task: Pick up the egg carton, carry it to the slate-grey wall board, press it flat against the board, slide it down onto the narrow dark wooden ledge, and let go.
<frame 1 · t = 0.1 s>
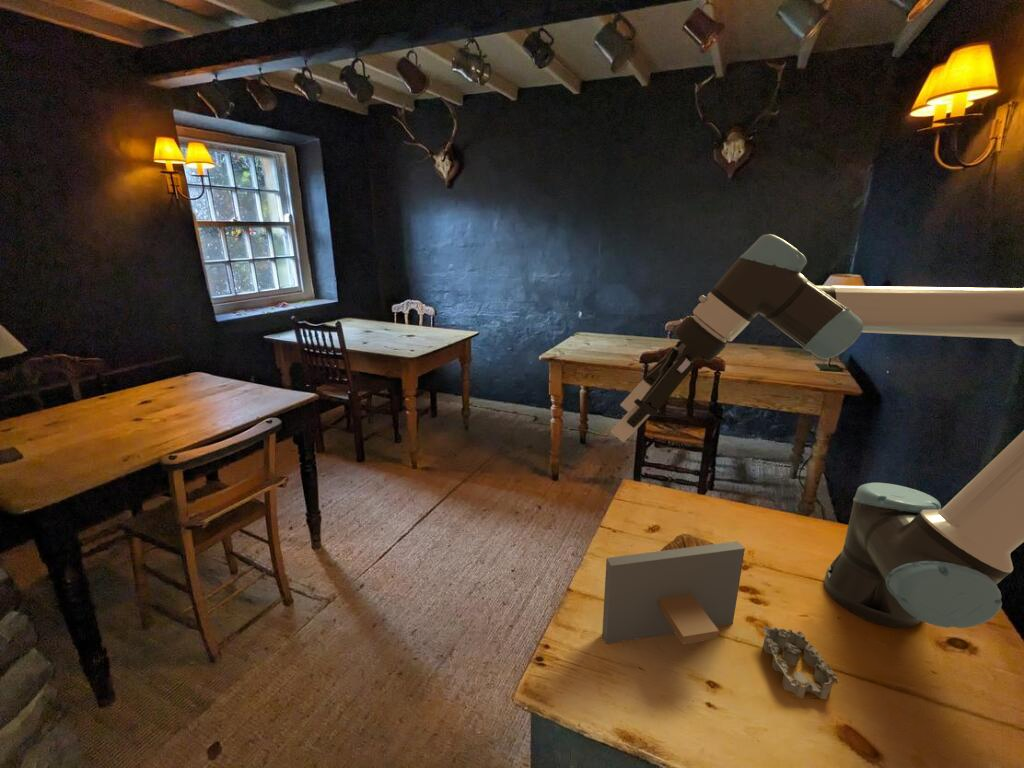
hand: (621, 422, 81), 36 cm above the table, tool tilted 35°, fingers open, 13 cm apart
croissant: (687, 556, 101), on the table
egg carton: (793, 670, 74), on the table
wall board: (671, 633, 81), on the table
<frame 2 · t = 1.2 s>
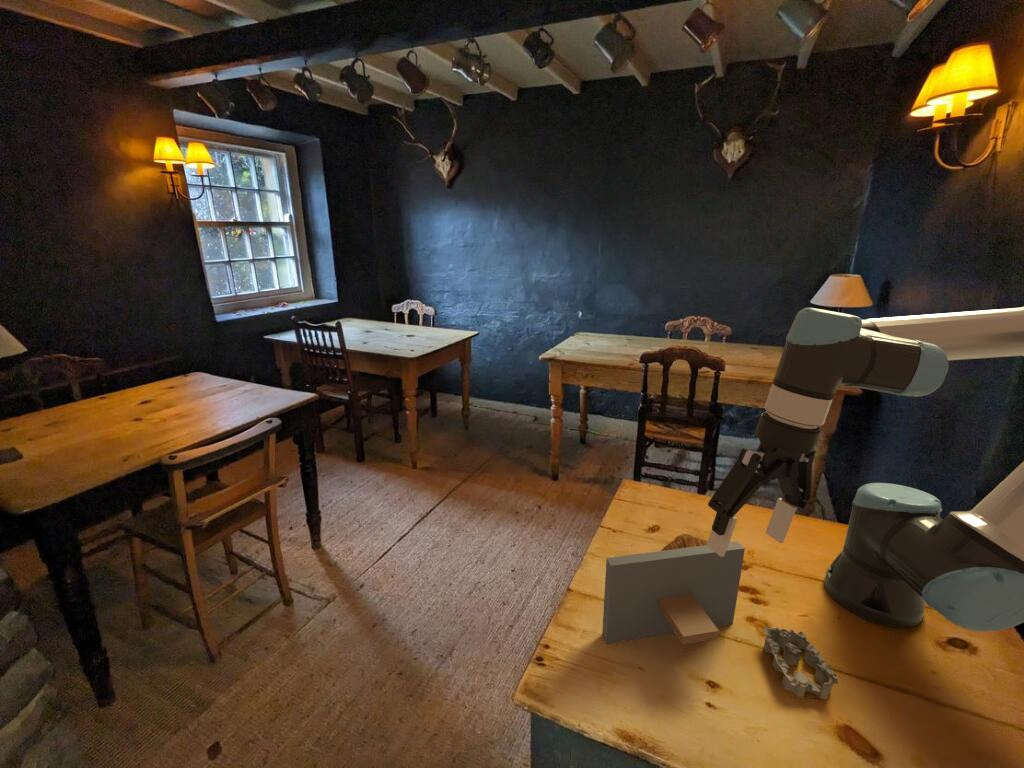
hand: (745, 544, 72), 21 cm above the table, tool pointing down, fingers open, 13 cm apart
nothing on the table moved.
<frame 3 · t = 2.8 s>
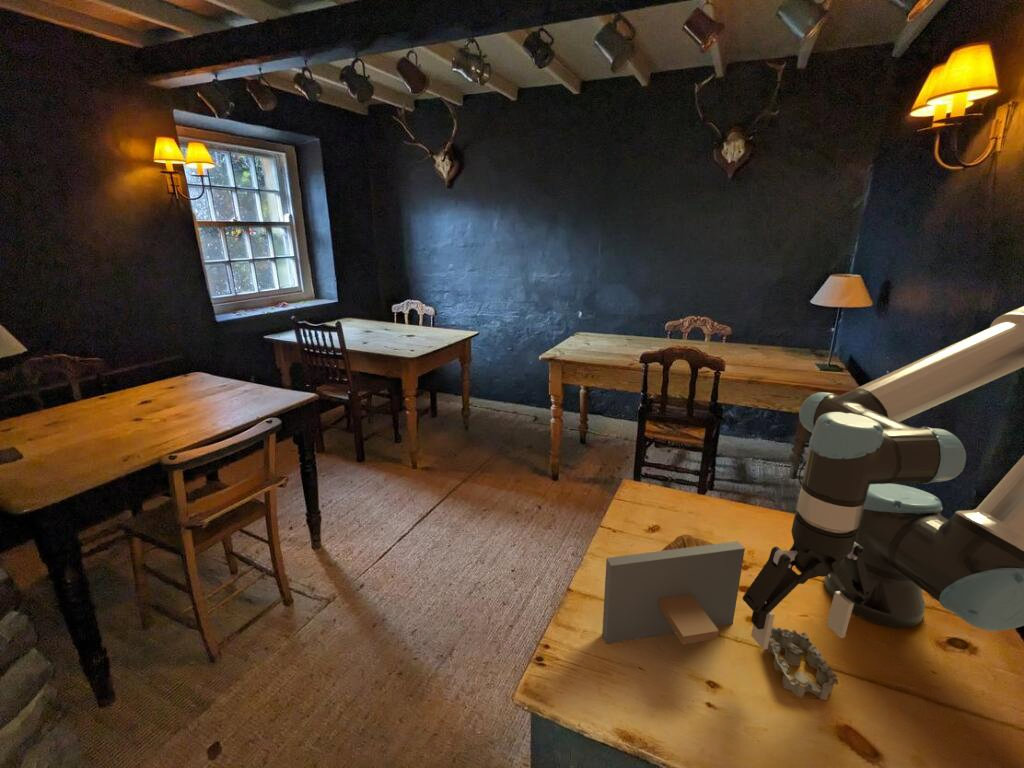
hand: (797, 636, 72), 6 cm above the table, tool pointing down, fingers open, 13 cm apart
nothing on the table moved.
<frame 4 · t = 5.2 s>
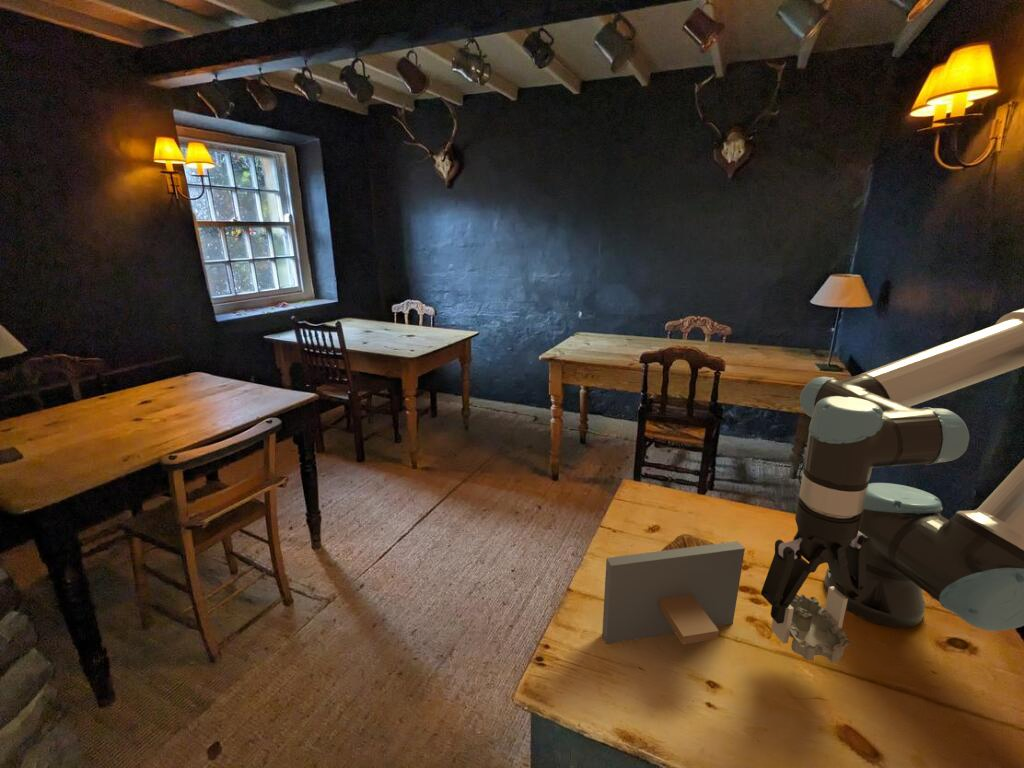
hand: (805, 631, 72), 7 cm above the table, tool pointing down, fingers closed on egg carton, 8 cm apart
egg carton: (805, 635, 72), point 7 cm above the table, touching gripper
everything else where it was.
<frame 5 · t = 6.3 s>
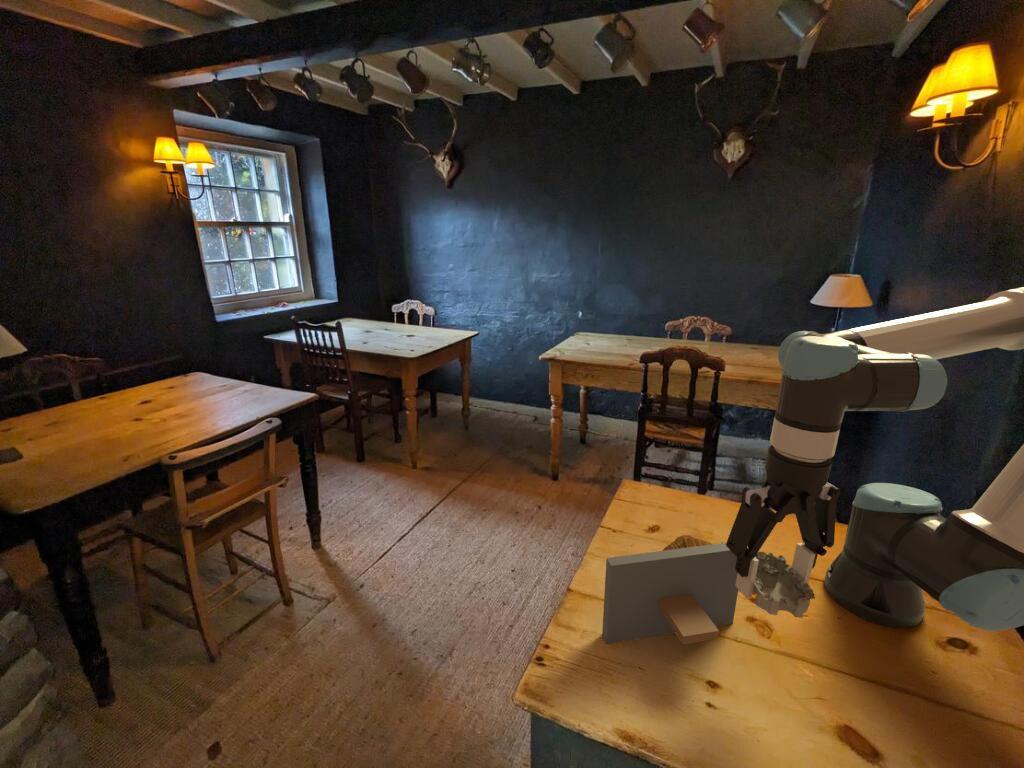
hand: (770, 588, 69), 16 cm above the table, tool pointing down, fingers closed on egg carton, 8 cm apart
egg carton: (770, 592, 69), point 16 cm above the table, touching gripper
everything else where it was.
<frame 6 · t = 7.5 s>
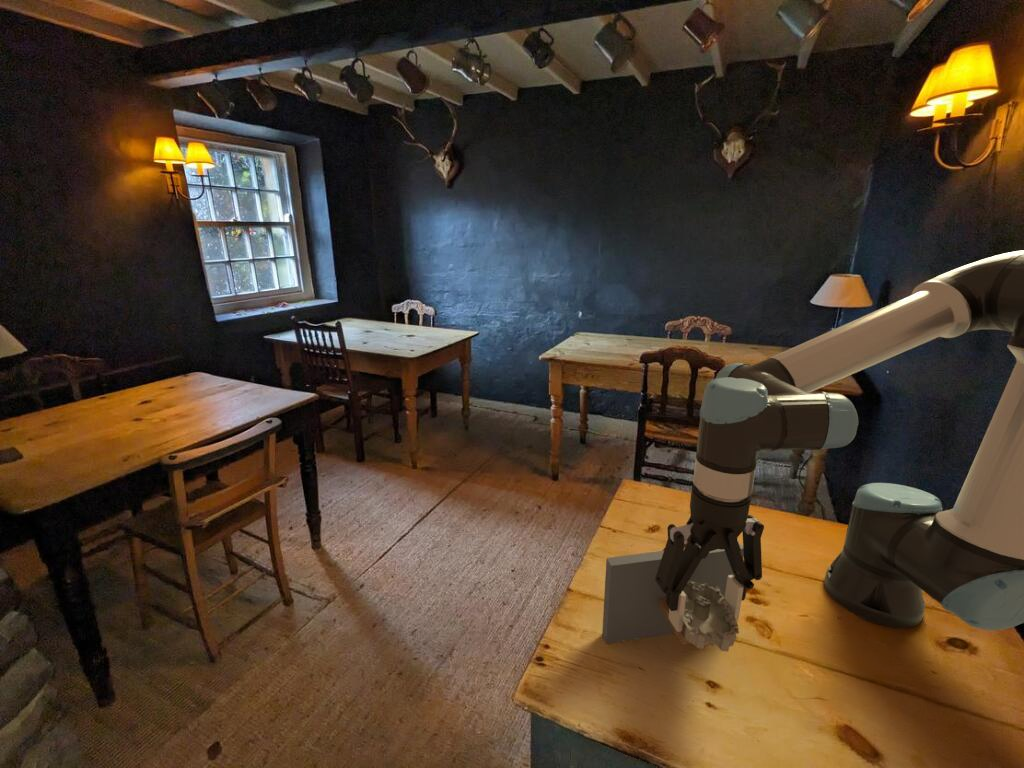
hand: (702, 620, 70), 11 cm above the table, tool pointing down, fingers closed on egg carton, 8 cm apart
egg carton: (702, 623, 70), point 10 cm above the table, touching gripper
everything else where it was.
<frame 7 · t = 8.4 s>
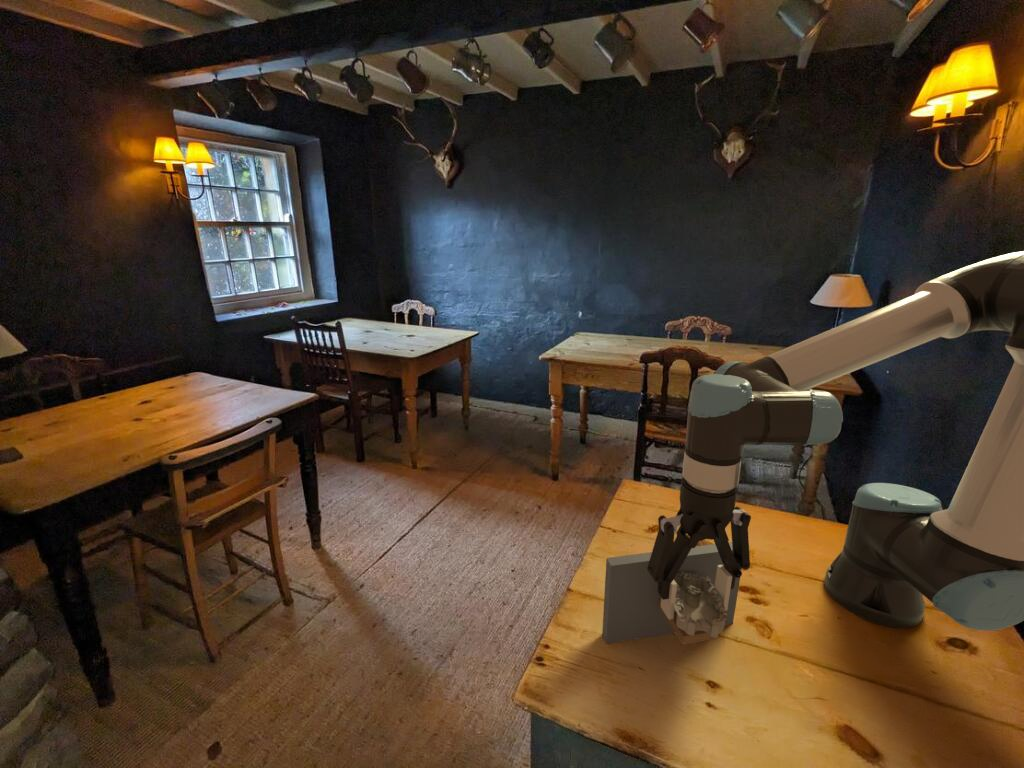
hand: (693, 608, 73), 10 cm above the table, tool pointing down, fingers closed on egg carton, 8 cm apart
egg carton: (693, 611, 73), point 10 cm above the table, touching gripper, wall board
everything else where it was.
when the fingers open (8 cm above the table, at t = 9.6 s): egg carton stays where it is, resting on wall board.
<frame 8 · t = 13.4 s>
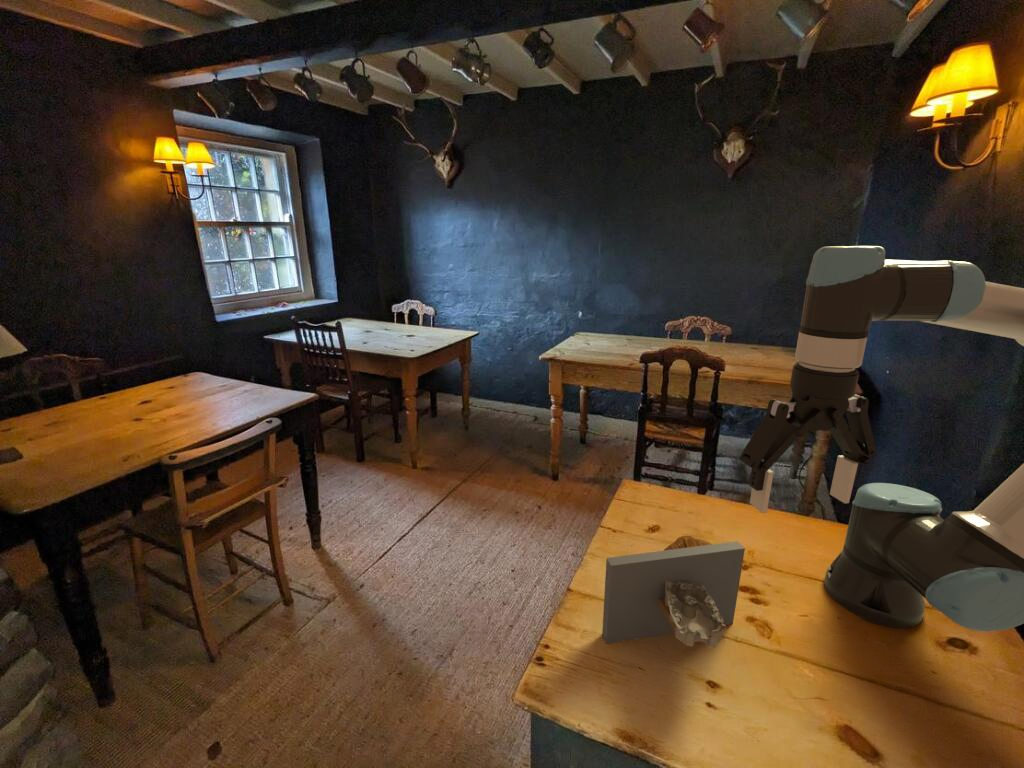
hand: (799, 503, 68), 29 cm above the table, tool pointing down, fingers open, 13 cm apart
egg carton: (690, 622, 74), point 8 cm above the table, touching wall board
everything else where it was.
at the end: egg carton inside the target area on the wall board (0.5 cm from its centre), point 7.8 cm above the wall board's base; the gripper is holding nothing; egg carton tilted 0° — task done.
